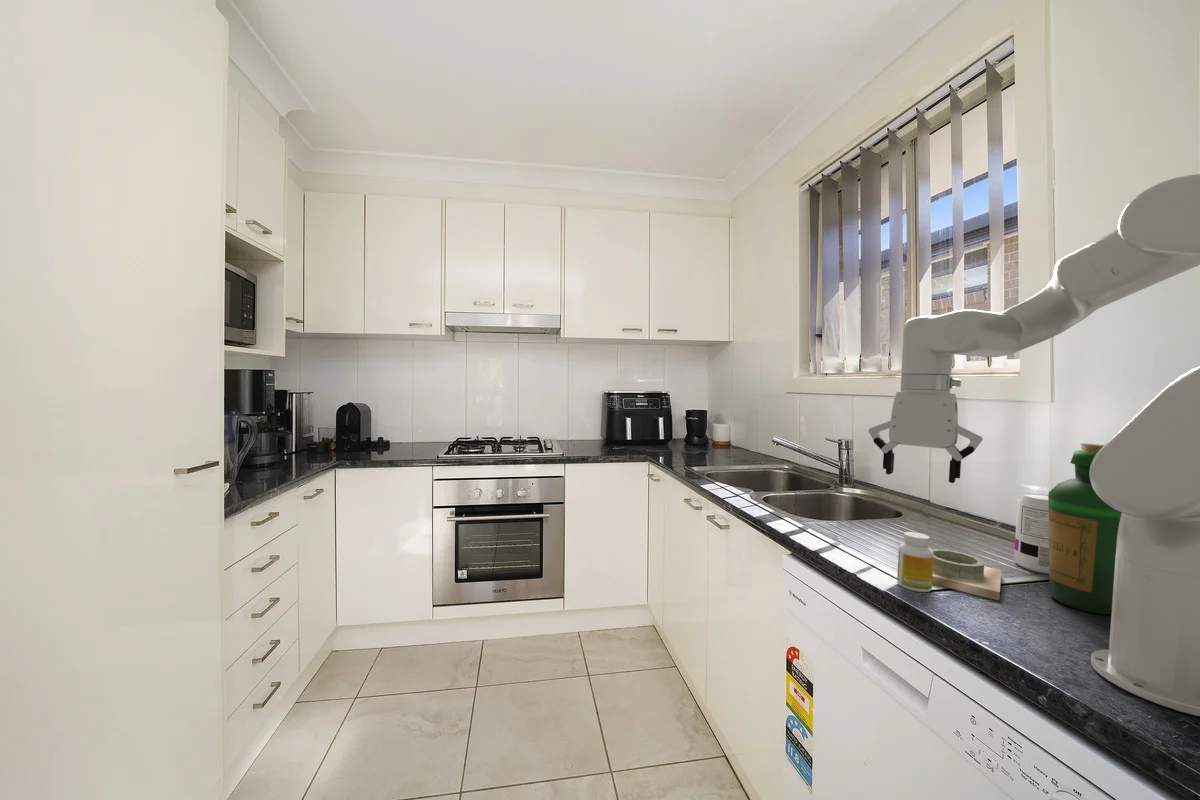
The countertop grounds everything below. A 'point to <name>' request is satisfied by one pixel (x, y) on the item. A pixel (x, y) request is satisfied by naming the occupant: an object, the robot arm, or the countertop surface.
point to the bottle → (1082, 540)
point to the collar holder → (965, 573)
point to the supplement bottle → (915, 563)
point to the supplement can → (1032, 532)
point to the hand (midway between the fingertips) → (919, 477)
